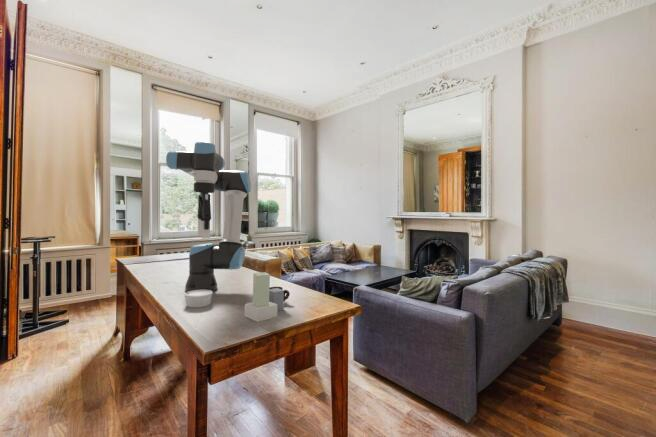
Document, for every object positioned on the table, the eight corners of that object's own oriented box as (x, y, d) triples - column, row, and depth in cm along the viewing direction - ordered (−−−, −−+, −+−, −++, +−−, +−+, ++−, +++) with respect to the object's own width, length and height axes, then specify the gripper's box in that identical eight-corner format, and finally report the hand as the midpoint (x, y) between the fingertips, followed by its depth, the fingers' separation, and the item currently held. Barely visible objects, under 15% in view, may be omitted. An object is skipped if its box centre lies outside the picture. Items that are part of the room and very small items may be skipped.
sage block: (252, 303, 119) (253, 273, 119) (264, 301, 122) (265, 272, 122) (256, 306, 115) (257, 275, 115) (268, 305, 117) (269, 274, 117)
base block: (244, 316, 118) (244, 304, 118) (263, 311, 125) (263, 299, 125) (257, 322, 112) (258, 309, 112) (277, 316, 119) (277, 304, 119)
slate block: (266, 308, 127) (267, 289, 127) (276, 306, 131) (277, 287, 131) (273, 311, 124) (273, 292, 124) (283, 309, 127) (283, 290, 127)
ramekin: (185, 301, 134) (186, 290, 133) (212, 299, 137) (212, 288, 137) (182, 309, 123) (183, 297, 123) (212, 307, 127) (212, 295, 127)
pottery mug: (261, 306, 132) (261, 287, 136) (270, 309, 140) (270, 292, 144) (286, 301, 129) (285, 283, 133) (294, 305, 138) (293, 287, 141)
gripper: (190, 183, 126) (190, 233, 127) (197, 179, 105) (196, 240, 105) (209, 184, 130) (209, 233, 131) (220, 180, 108) (219, 239, 109)
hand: (203, 236), depth 118 cm, fingers open, 13 cm apart
